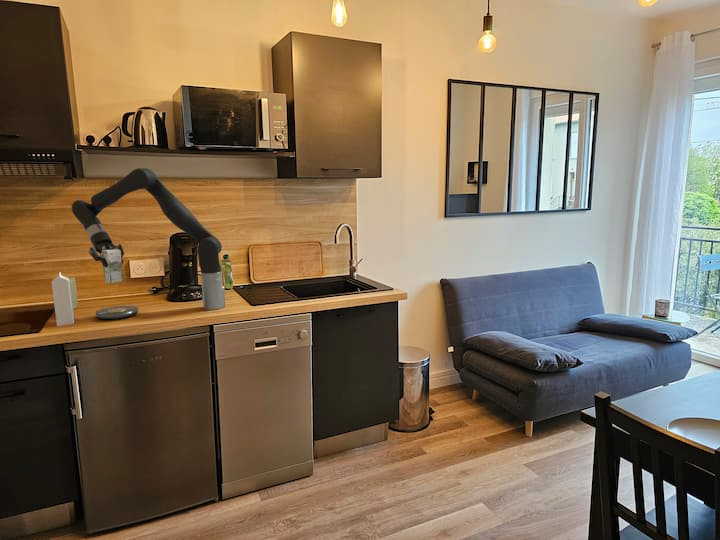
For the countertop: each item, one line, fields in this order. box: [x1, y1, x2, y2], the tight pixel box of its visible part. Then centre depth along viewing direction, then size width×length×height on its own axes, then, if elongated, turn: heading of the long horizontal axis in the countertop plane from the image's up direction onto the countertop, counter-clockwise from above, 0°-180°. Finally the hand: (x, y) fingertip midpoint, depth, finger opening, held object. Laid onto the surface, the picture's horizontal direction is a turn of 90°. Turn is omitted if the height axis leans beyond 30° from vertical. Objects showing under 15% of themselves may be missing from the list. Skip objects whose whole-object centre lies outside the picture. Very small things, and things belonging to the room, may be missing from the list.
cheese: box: [51, 277, 79, 311], centre depth 222 cm, size 22×10×15 cm, turn 27°
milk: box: [51, 271, 75, 327], centre depth 204 cm, size 6×6×22 cm
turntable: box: [95, 305, 139, 320], centre depth 216 cm, size 17×17×2 cm
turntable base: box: [105, 316, 131, 321], centre depth 217 cm, size 12×12×1 cm
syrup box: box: [102, 249, 124, 285], centre depth 213 cm, size 6×6×14 cm
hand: (114, 265), depth 212 cm, fingers closed on syrup box, 5 cm apart
